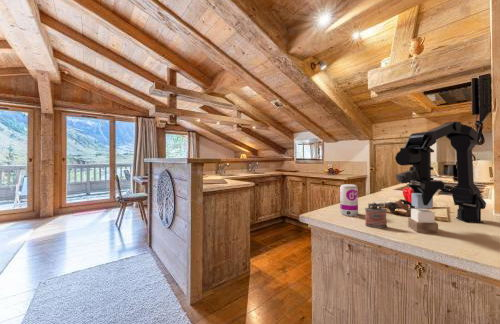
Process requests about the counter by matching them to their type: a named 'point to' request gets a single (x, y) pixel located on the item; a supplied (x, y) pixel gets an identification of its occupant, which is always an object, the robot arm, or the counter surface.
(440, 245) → the counter surface
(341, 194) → the supplement can
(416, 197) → the slate block
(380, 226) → the lighter
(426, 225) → the walnut base block
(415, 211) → the cream middle block
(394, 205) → the dark brown irregular piece
